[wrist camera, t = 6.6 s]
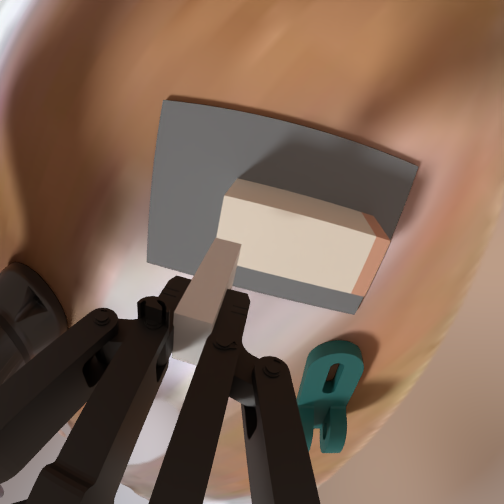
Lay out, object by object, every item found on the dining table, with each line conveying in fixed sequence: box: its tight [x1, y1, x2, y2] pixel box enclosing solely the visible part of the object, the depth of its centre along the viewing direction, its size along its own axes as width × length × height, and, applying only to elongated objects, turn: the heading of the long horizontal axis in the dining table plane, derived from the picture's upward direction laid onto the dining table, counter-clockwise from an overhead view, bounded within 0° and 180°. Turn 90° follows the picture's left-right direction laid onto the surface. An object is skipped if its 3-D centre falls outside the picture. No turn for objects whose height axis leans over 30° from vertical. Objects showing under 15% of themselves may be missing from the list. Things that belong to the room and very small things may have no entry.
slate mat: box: [147, 100, 418, 315], centre depth 25 cm, size 22×16×1 cm
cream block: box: [216, 178, 390, 297], centre depth 22 cm, size 5×5×12 cm
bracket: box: [296, 340, 364, 453], centre depth 32 cm, size 18×7×8 cm, turn 179°
